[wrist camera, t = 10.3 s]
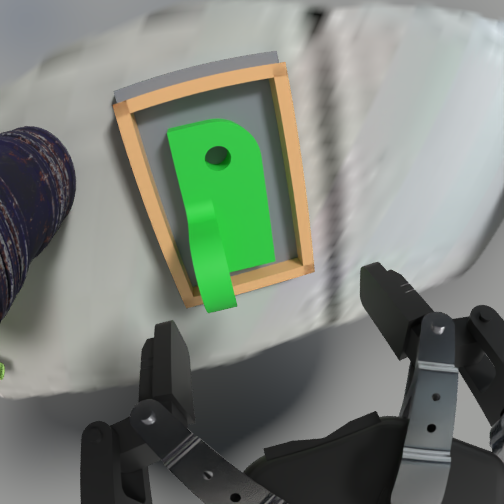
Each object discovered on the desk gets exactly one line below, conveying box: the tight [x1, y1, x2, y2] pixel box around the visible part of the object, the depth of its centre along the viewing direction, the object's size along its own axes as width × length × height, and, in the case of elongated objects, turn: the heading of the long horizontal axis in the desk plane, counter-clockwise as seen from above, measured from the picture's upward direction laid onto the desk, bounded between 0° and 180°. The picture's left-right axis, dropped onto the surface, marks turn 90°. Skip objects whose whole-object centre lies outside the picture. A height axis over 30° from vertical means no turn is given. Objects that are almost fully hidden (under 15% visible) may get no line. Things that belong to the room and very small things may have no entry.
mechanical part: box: [167, 119, 275, 313], centre depth 21 cm, size 12×6×8 cm, turn 8°
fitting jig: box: [113, 51, 315, 308], centre depth 24 cm, size 12×20×2 cm, turn 11°
